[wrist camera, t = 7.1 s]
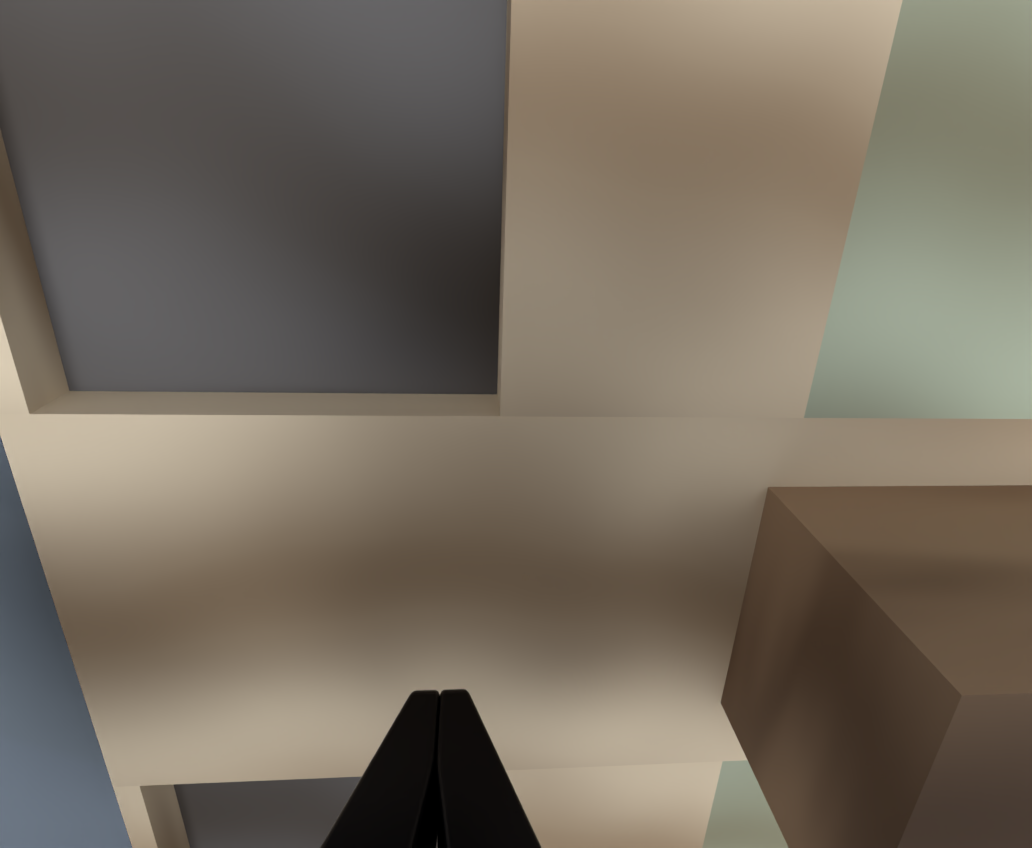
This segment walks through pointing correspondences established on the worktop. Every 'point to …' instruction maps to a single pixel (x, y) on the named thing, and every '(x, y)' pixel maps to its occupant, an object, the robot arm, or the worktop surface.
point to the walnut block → (889, 666)
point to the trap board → (483, 367)
